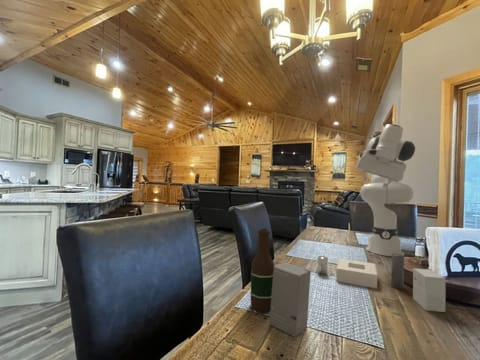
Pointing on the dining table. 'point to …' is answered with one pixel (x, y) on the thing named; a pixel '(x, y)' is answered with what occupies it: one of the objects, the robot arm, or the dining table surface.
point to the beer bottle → (262, 275)
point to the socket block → (357, 273)
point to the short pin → (322, 265)
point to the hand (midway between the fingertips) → (374, 184)
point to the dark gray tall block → (397, 271)
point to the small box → (429, 289)
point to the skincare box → (290, 298)
